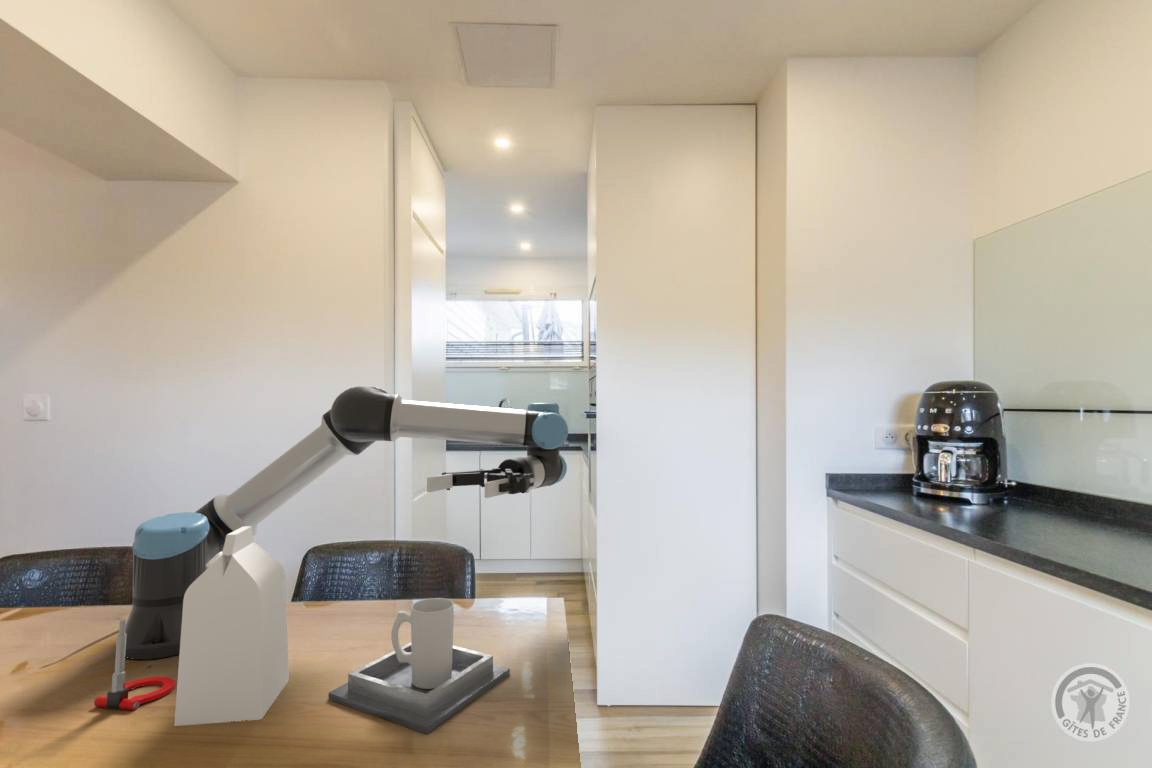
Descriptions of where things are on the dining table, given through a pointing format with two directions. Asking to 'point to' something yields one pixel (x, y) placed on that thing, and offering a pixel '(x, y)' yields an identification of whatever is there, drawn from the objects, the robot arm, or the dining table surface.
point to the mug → (427, 641)
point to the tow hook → (120, 690)
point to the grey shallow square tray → (418, 689)
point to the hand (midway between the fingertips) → (456, 487)
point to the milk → (233, 636)
